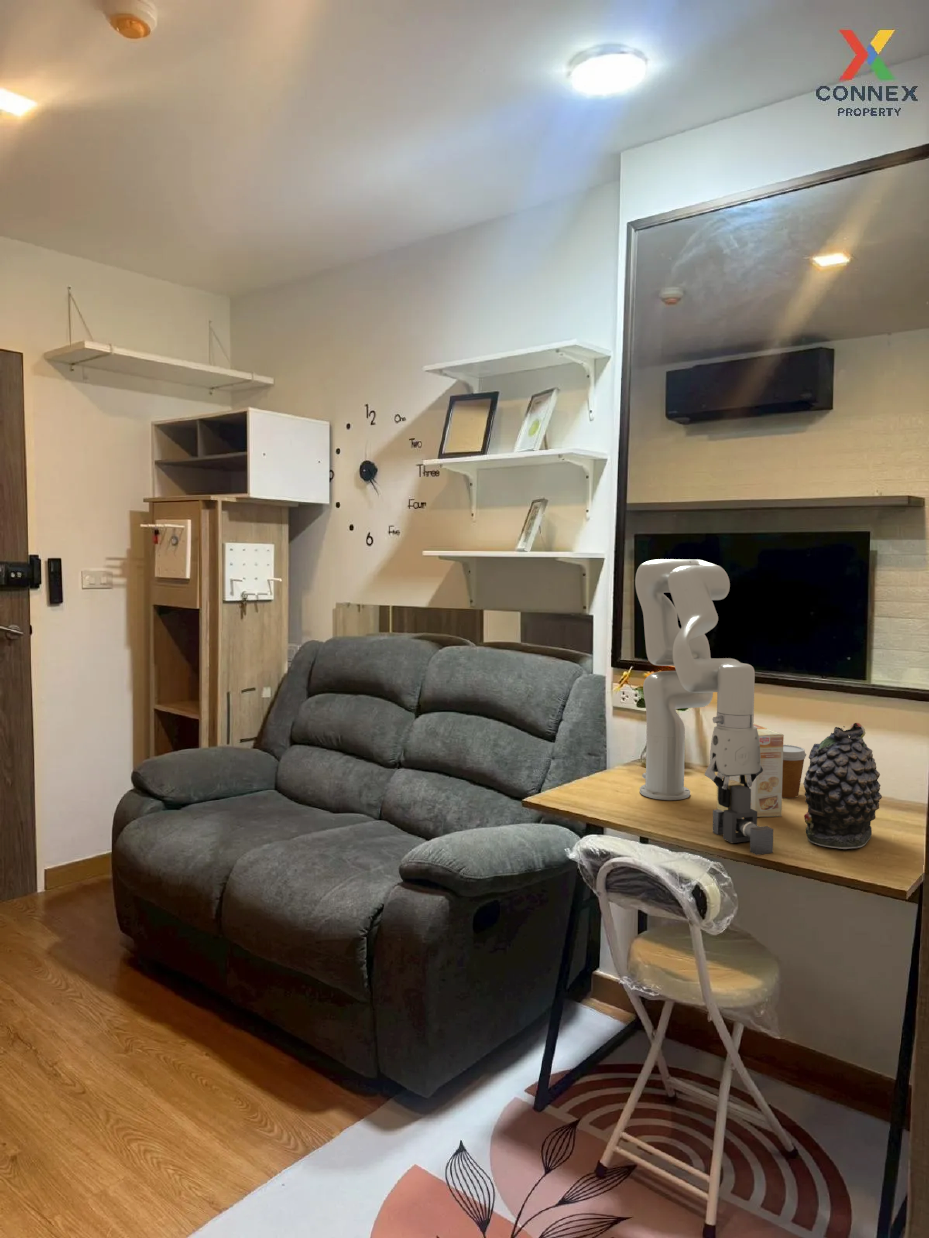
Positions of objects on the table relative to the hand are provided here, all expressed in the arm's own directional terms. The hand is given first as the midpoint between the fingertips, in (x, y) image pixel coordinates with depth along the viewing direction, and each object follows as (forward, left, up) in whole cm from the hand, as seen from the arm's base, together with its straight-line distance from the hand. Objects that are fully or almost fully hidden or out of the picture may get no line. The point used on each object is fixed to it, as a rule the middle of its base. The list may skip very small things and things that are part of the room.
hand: (733, 803), depth 178 cm
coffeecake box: (-17, +18, -8) cm, 26 cm away
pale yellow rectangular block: (-1, 0, -2) cm, 2 cm away
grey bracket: (+2, 0, -7) cm, 8 cm away
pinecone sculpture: (+8, +22, -8) cm, 24 cm away
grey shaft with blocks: (+3, 0, -7) cm, 8 cm away
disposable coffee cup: (-24, +33, -8) cm, 42 cm away
